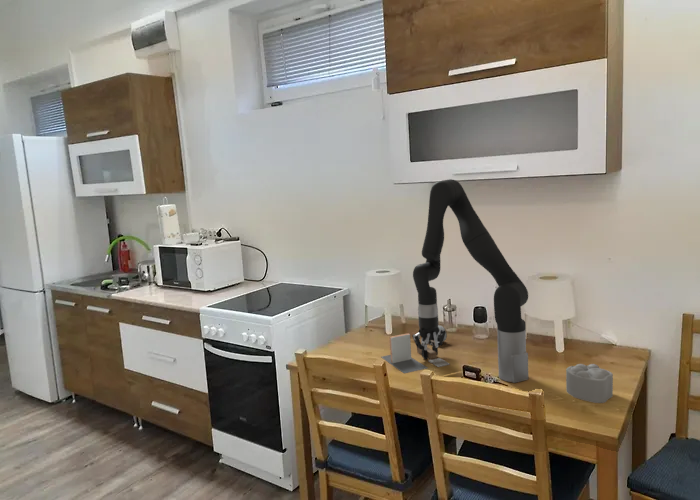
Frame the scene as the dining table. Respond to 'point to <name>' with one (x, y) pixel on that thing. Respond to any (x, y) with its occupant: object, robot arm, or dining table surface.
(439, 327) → the ceramic mug
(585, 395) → the lumpy-topped squat cylinder
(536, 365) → the dining table surface
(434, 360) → the turner
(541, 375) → the dining table surface
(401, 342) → the tile
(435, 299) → the robot arm
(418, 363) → the mat
